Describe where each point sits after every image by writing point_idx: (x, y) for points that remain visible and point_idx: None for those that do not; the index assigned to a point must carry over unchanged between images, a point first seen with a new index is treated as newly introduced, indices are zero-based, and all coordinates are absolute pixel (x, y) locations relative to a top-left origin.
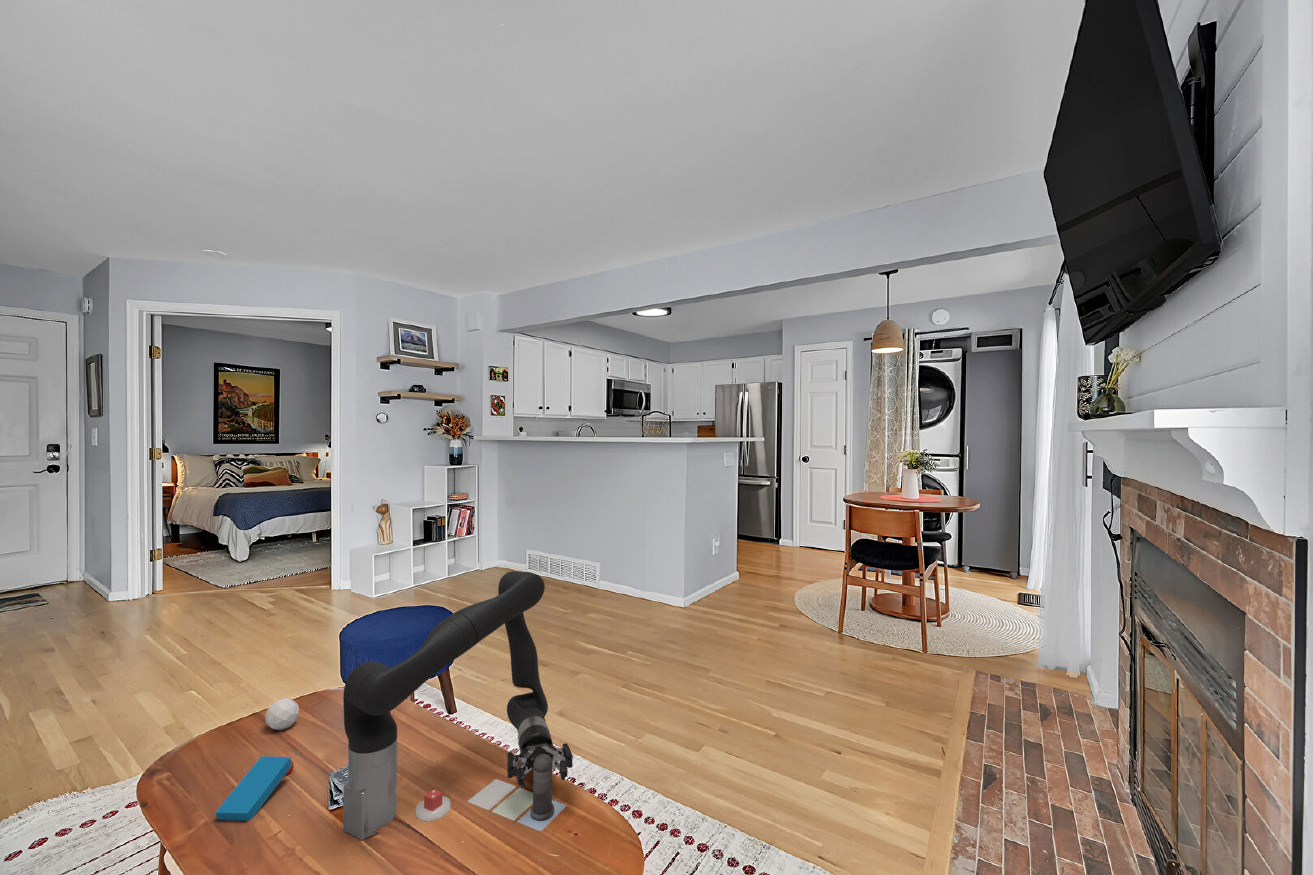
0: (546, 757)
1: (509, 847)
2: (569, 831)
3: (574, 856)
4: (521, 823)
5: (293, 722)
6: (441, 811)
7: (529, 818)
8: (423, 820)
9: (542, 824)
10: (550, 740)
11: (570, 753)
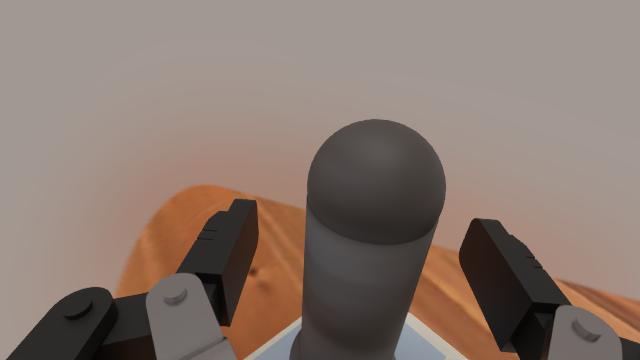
0: (359, 122)
1: (444, 289)
2: (265, 285)
3: (286, 219)
4: (425, 339)
5: None
6: None
7: (396, 357)
8: None
9: None
10: None
11: (32, 349)
